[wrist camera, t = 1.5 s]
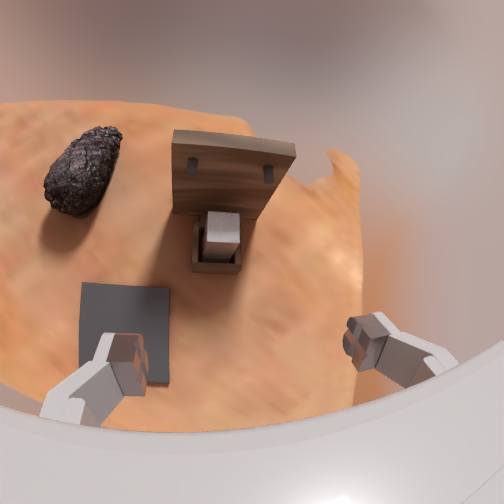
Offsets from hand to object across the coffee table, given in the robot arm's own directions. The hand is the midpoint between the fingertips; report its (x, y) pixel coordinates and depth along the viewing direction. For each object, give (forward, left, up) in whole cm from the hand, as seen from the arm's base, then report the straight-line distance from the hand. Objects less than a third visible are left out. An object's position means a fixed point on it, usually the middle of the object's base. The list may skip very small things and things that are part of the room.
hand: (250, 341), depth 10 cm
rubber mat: (-9, -7, -31) cm, 33 cm away
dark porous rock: (-33, +6, -32) cm, 46 cm away
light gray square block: (-7, +12, -31) cm, 34 cm away
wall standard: (-9, +13, -31) cm, 35 cm away
